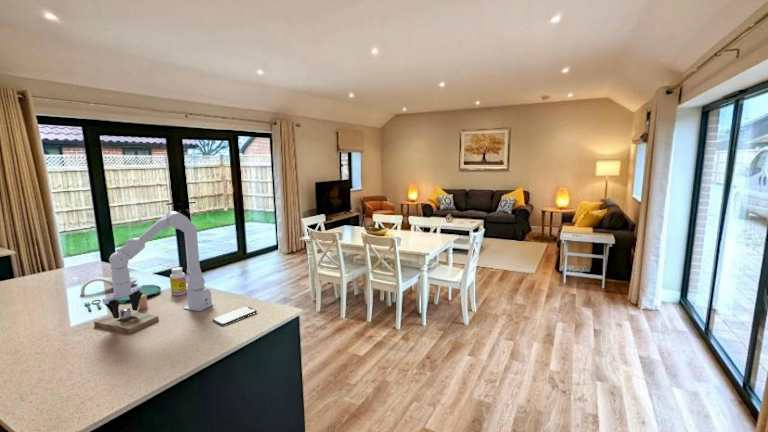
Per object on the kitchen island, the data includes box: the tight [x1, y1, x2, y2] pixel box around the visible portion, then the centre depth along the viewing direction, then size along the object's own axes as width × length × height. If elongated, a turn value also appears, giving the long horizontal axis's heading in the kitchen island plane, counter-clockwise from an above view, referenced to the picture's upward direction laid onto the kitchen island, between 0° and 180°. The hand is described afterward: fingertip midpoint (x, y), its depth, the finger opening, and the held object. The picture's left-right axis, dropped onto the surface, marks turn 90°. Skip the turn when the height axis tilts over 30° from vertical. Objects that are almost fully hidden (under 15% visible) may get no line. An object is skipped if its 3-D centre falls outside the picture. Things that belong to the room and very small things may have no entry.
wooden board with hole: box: [93, 310, 160, 335], centre depth 147 cm, size 20×12×2 cm, turn 71°
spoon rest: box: [80, 276, 138, 296], centre depth 187 cm, size 24×12×7 cm, turn 130°
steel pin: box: [119, 307, 131, 322], centre depth 147 cm, size 4×4×6 cm
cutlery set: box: [84, 284, 162, 313], centre depth 175 cm, size 20×30×2 cm, turn 135°
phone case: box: [212, 305, 257, 327], centre depth 152 cm, size 9×2×16 cm
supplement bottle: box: [169, 266, 187, 297], centre depth 179 cm, size 7×7×13 cm
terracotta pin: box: [138, 294, 149, 311], centre depth 162 cm, size 4×4×6 cm
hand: (126, 314), depth 147 cm, fingers open, 7 cm apart
